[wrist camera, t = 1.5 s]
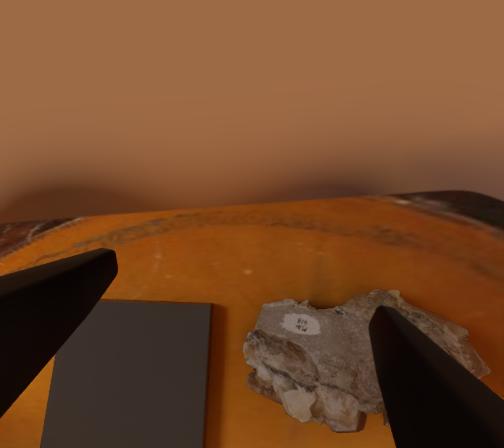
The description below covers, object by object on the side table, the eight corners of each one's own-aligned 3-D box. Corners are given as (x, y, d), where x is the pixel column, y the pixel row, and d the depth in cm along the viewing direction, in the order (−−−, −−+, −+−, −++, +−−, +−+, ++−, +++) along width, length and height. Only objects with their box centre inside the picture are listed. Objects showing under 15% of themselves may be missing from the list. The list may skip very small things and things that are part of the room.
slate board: (200, 529, 19) (196, 547, 18) (39, 515, 19) (25, 532, 18) (213, 303, 22) (210, 305, 21) (74, 297, 23) (64, 299, 21)
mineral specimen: (338, 289, 28) (231, 362, 22) (346, 243, 24) (218, 317, 18) (468, 391, 18) (339, 570, 12) (517, 344, 14) (360, 573, 8)
